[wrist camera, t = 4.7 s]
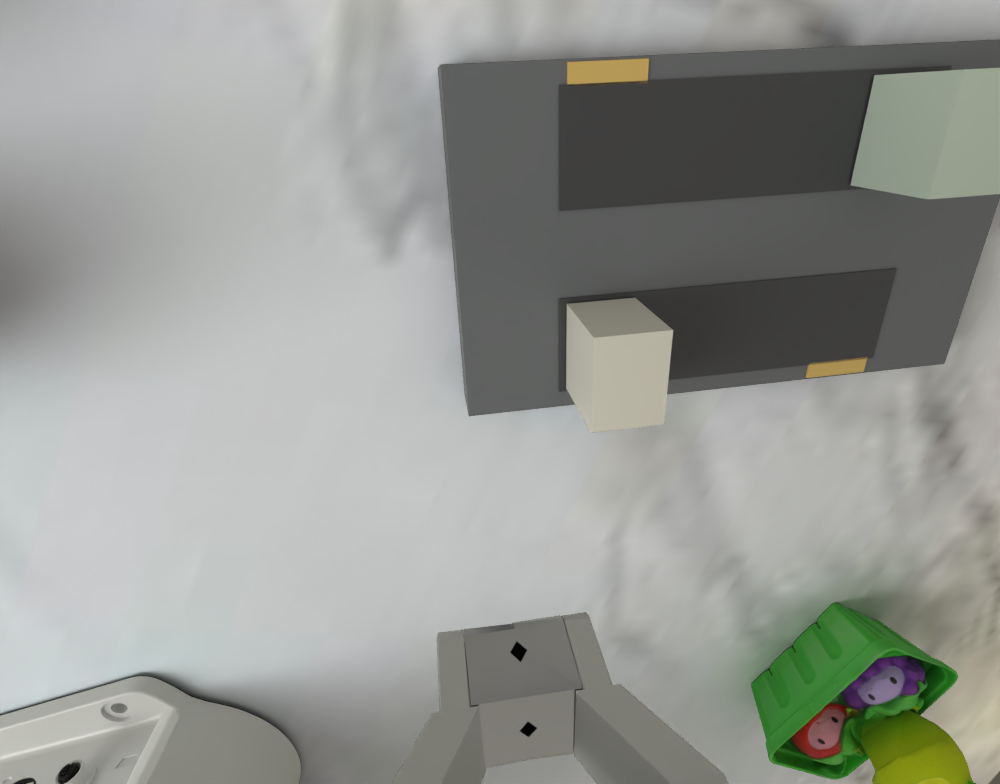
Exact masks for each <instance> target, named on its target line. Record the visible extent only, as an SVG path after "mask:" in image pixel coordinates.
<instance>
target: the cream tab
mask: <svg viewBox="0 0 1000 784" xmlns="http://www.w3.org/2000/svg"><path fill="white" fill-rule="evenodd" d="M672 338H673V329H671V328H670V327H669V326H668V325H667V324H665V323H664V322H663V321H662V320H661V319H660V318H658V317H657V316H656V315H655V314H654V313H653V312H651V311H650V310H649V309H648V308H647V307H645V306H644V305H643V304H642V303H641V302H640V301H638V300H637V299H636V298H625V299H614V300H603V301H592V302H581V303H570V304H567V335H566V389H567V391H568V392H569V394H570V396H571V398H572V400H573V401H574V403H575V405H576V407H577V409H578V410H579V412H580V414H581V416H582V418H583V419H584V421H585V423H586V425H587V427H588V428H589V430H590V432H591V433H593V432H602V431H610V430H619V429H628V428H636V427H645V426H654V425H662V424H664V420H665V410H666V400H667V389H668V379H669V369H670V358H671V348H672Z"/></svg>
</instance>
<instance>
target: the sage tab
mask: <svg viewBox="0 0 1000 784" xmlns="http://www.w3.org/2000/svg"><path fill="white" fill-rule="evenodd" d="M851 186H857V187H862V188H868V189H873V190H879V191H884V192H890V193H895V194H901V195H906V196H911V197H917V198H922V199H941V198H954V197H967V196H980V195H994V194H1000V68H985V69H965V70H949V71H933V72H917V73H901V74H885V75H875V76H874V80H873V85H872V89H871V94H870V98H869V103H868V108H867V112H866V117H865V121H864V126H863V130H862V135H861V139H860V144H859V149H858V153H857V158H856V162H855V167H854V171H853V176H852V181H851Z"/></svg>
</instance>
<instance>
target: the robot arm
mask: <svg viewBox="0 0 1000 784" xmlns="http://www.w3.org/2000/svg"><path fill="white" fill-rule="evenodd" d="M464 640H465V642H464ZM437 657H438V682H439V706H440V712H435V713H432V714H431V716H430V717H429V719H428V721H427V723H426V724H425V726H424V728H423V730H422V731H421V733H420V735H419V737H418V739H417V740H416V742H415V744H414V746H413V747H412V749H411V751H410V753H409V754H408V756H407V758H406V760H405V761H404V763H403V765H402V767H401V768H400V770H399V772H398V774H397V775H396V777H395V779H394V781H393V782H392V784H481V782H482V779H483V776H484V774H485V768H488V767H493V766H498V765H503V764H508V763H514V762H519V761H524V760H529V759H536V758H544V757H551V756H559V755H566V754H574V756H575V758H576V759H577V760H578V761H579V762H580V764H581V765H582V766H583V767H584V768H585V770H586V771H587V772H588V773H589V774H590V776H591V777H592V778H593V779H594V780H595V782H596V783H597V784H728V781H727V779H726V777H725V775H724V774H723V773H722V772H721V771H720V770H719V769H718V768H716V767H715V766H714V765H713V764H712V763H711V762H709V761H708V760H707V759H706V758H705V757H704V756H703V755H701V754H700V753H699V752H698V751H697V750H696V749H694V748H693V747H692V746H691V745H690V744H689V743H688V742H686V741H685V740H684V739H683V738H682V737H681V736H679V735H678V734H677V733H676V732H675V731H674V730H672V729H671V728H670V727H669V726H668V725H667V724H666V723H664V722H663V721H662V720H661V719H660V718H659V717H657V716H656V715H655V714H654V713H653V712H652V711H651V710H649V709H648V708H647V707H646V706H645V705H644V704H642V703H641V702H640V701H639V700H638V699H637V698H636V697H634V696H633V695H632V694H631V693H630V692H629V691H627V690H626V689H625V688H624V687H623V686H622V685H621V684H617V685H612V682H611V679H610V676H609V673H608V670H607V667H606V664H605V661H604V658H603V655H602V652H601V650H600V647H599V644H598V641H597V638H596V635H595V632H594V629H593V626H592V623H591V620H590V617H589V616H588V614H587V613H586V612H585V613H578V614H571V615H564V616H554V617H547V618H541V619H534V620H528V621H521V622H515V623H512V624H507V625H498V626H489V627H480V628H471V629H464V633H463V630H456V631H448V632H440V633H438V635H437ZM300 776H301V764H300V759H299V756H298V754H297V751H296V750H295V748H294V746H293V745H292V743H291V742H290V741H289V740H288V738H287V737H286V736H285V735H284V734H283V733H281V732H280V731H279V730H278V729H277V728H275V727H274V726H272V725H271V724H269V723H268V722H266V721H264V720H262V719H261V718H259V717H257V716H254V715H252V714H250V713H247V712H245V711H242V710H239V709H236V708H232V707H229V706H225V705H220V704H216V703H212V702H207V701H203V700H200V699H196V698H193V697H190V696H189V695H187V694H185V693H184V692H182V691H180V690H178V689H177V688H175V687H173V686H171V685H169V684H167V683H165V682H163V681H161V680H158V679H155V678H152V677H147V676H138V677H132V678H128V679H125V680H121V681H118V682H115V683H111V684H108V685H104V686H101V687H97V688H94V689H90V690H87V691H84V692H80V693H77V694H73V695H70V696H66V697H63V698H60V699H56V700H53V701H49V702H46V703H42V704H39V705H36V706H32V707H29V708H25V709H22V710H18V711H15V712H11V713H8V714H5V715H1V716H0V784H298V783H299V780H300Z"/></svg>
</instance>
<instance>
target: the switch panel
mask: <svg viewBox="0 0 1000 784" xmlns="http://www.w3.org/2000/svg"><path fill="white" fill-rule="evenodd" d="M985 68H1000V40H982V41H960V42H937V43H915V44H892V45H870V46H847V47H825V48H802V49H780V50H757V51H735V52H712V53H690V54H667V55H645V56H622V57H600V58H577V59H555V60H532V61H510V62H487V63H465V64H442V65H440V66H439V67H438V77H439V89H440V101H441V113H442V125H443V137H444V149H445V161H446V173H447V185H448V198H449V210H450V222H451V234H452V246H453V258H454V270H455V282H456V294H457V306H458V318H459V330H460V342H461V354H462V366H463V378H464V391H465V399H466V404H467V409H468V414H469V416H475V415H484V414H493V413H502V412H511V411H520V410H529V409H538V408H547V407H556V406H565V405H574V404H575V403H574V401H573V400H572V398H571V396H570V394H569V392H568V391H567V389H566V335H567V304H570V303H581V302H592V301H603V300H614V299H625V298H636V299H637V300H638V301H640V302H641V303H642V304H643V305H644V306H645V307H647V308H648V309H649V310H650V311H651V312H653V313H654V314H655V315H656V316H657V317H658V318H660V319H661V320H662V321H663V322H664V323H665V324H667V325H668V326H669V327H670V328H671V329H673V338H672V348H671V358H670V369H669V379H668V389H667V394H674V393H683V392H692V391H701V390H710V389H719V388H729V387H738V386H747V385H756V384H765V383H774V382H783V381H792V380H801V379H810V378H819V377H828V376H837V375H846V374H856V373H865V372H874V371H883V370H892V369H901V368H910V367H919V366H928V365H937V364H944V363H945V360H946V357H947V354H948V351H949V348H950V345H951V342H952V339H953V336H954V333H955V330H956V327H957V324H958V321H959V318H960V315H961V312H962V309H963V306H964V303H965V300H966V297H967V295H968V292H969V289H970V286H971V283H972V280H973V277H974V274H975V271H976V268H977V265H978V262H979V259H980V256H981V253H982V250H983V247H984V244H985V241H986V238H987V235H988V232H989V229H990V226H991V223H992V220H993V217H994V214H995V211H996V208H997V205H998V202H999V199H1000V194H994V195H980V196H967V197H954V198H941V199H922V198H917V197H911V196H906V195H901V194H895V193H890V192H884V191H879V190H873V189H868V188H862V187H857V186H851V181H852V176H853V171H854V167H855V162H856V158H857V153H858V149H859V144H860V139H861V135H862V130H863V126H864V121H865V117H866V112H867V108H868V103H869V98H870V94H871V89H872V85H873V80H874V76H875V75H885V74H901V73H917V72H933V71H949V70H965V69H985Z"/></svg>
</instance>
